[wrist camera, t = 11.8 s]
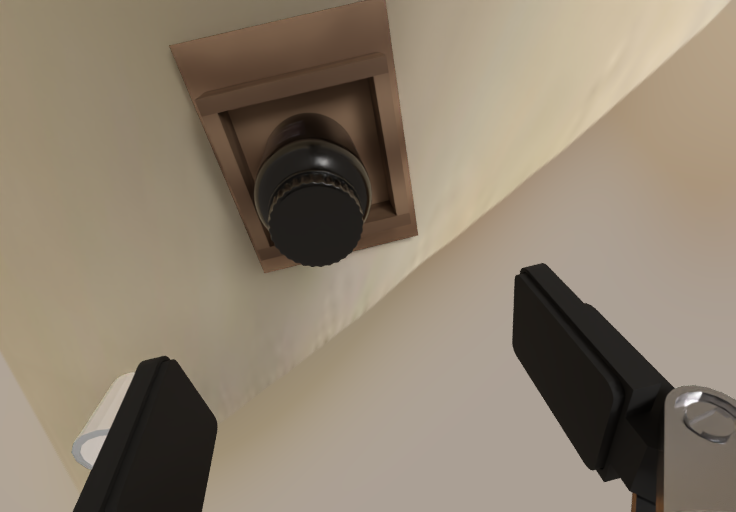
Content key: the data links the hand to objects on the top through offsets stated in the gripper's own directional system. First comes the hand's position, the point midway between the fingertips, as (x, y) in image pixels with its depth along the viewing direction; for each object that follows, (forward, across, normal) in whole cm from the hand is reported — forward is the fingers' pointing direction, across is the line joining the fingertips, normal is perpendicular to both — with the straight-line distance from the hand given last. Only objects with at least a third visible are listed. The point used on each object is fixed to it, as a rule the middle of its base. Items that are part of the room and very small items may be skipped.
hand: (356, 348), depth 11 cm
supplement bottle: (+22, +1, +1) cm, 22 cm away
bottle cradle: (+22, +1, +1) cm, 23 cm away
